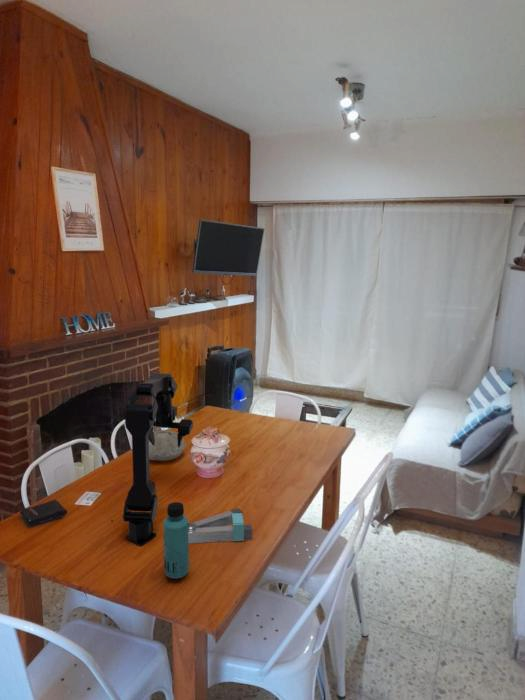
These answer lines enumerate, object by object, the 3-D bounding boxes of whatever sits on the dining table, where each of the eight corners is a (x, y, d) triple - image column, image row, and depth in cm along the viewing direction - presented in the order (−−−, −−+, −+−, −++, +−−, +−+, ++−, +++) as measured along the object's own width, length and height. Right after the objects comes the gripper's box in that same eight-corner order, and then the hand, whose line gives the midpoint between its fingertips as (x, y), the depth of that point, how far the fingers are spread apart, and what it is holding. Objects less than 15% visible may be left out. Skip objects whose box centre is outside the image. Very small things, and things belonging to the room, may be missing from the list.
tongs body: (182, 544, 135) (182, 531, 134) (182, 535, 139) (182, 523, 139) (251, 539, 138) (252, 527, 137) (250, 531, 142) (250, 519, 141)
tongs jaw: (189, 537, 138) (189, 528, 138) (185, 533, 140) (185, 524, 140) (242, 520, 148) (242, 511, 147) (238, 516, 150) (238, 508, 149)
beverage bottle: (191, 567, 125) (190, 498, 121) (187, 584, 119) (187, 512, 115) (166, 567, 125) (164, 498, 121) (161, 584, 118) (160, 511, 114)
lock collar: (233, 541, 136) (233, 525, 135) (231, 529, 142) (231, 513, 141) (243, 540, 137) (243, 524, 136) (241, 528, 143) (241, 513, 142)
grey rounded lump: (173, 469, 182) (172, 444, 180) (131, 463, 187) (131, 439, 185) (191, 451, 199) (191, 428, 197) (153, 446, 204) (152, 423, 202)
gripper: (196, 397, 168) (197, 435, 174) (145, 394, 169) (148, 431, 175) (188, 413, 157) (190, 452, 163) (133, 410, 159) (137, 448, 165)
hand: (166, 445), depth 167 cm, fingers open, 9 cm apart
